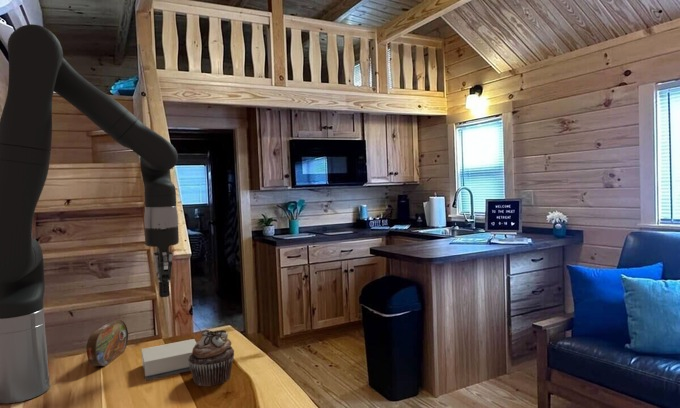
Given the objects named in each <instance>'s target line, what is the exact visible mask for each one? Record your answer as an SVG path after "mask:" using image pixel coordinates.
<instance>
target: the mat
mask: <svg viewBox="0 0 680 408" xmlns="http://www.w3.org/2000/svg"><path fill="white" fill-rule="evenodd" d="M142 370H144V367H143V366H142ZM187 372H191V369H190V367H189V368H185V369H180V370H175V371H171V372H166V373H162V374H157V375H152V376H148V377H147V376H145V372H144V371H143V374H144V378H145V379H144V380H145V381H150V380H155V379H159V378H160V379H161V378H164V377H168V376H173V375H178V374H182V373H187Z"/></svg>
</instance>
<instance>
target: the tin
mask: <svg viewBox="0 0 680 408" xmlns="http://www.w3.org/2000/svg"><path fill="white" fill-rule="evenodd" d="M128 341H129V332H128V326H127V324H126V323H125V321H123V320H114V321H113V320H112V321H109V322H107V323H105V325H103V326H101V327H100V328H98V329H97V330H95V331H94V332H92V333H91V334H90V335H89V337H88V339H87V342H86V345H85V346H86V355H87V356H86V357H87V361H88V363H89V364H90V366H92V367H106V366H108V365H109V364H110V363H112V362H113V361H114V360H116V359H117V358H118V357H120V356H121V355H122V354H123V353H124V352H125V350H126V349H127V345H128Z"/></svg>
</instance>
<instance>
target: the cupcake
mask: <svg viewBox="0 0 680 408" xmlns="http://www.w3.org/2000/svg"><path fill="white" fill-rule="evenodd" d="M228 336H229V334H228V333H227V331H226V330H225V329H224V330H223V329H222V330H214V331H213V330H209V329H207V330H206V331H204V332H203V333H202V335H201V338H200V340H198V341H196V345H195V346H194V348H193V351H192V352H193V353H192V354H191V356H189V359H188V363H189V366H190V369H191V371H190V373H191V376H192V380H193V384H195V385H197V386H199V387H211V386H212V387H214V386H218V385H220V384H223V383H225V382H227V381H228V380H230V377H231V373H232V367H233V362H234V357H235V350H234V349H233V348H234V347H232V341H231V340H230V339H229V338H228Z"/></svg>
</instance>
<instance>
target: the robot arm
mask: <svg viewBox="0 0 680 408" xmlns="http://www.w3.org/2000/svg"><path fill="white" fill-rule="evenodd" d="M63 51H64V50H63V47H62V45H61V42H60V40H59V39H58V38H57V36H56V35H55V34H54V32H52V31H51V30H50V29H48V28H46V27H44V26H43V25H38V24H25V25H21V26H20V27H17V28H16V29H15V30H13V32H12V33H11V34H10V36H9V38H8V40H7V54H8V87H7V94H6V97H5V98H6V99H5V103H4V105H3V110H2V113H1V117H0V404H15V402H16V403H20V402H25V401H27V400H30V399H34V398H37V397H38V396H40V395H43V394H44V393H46V392H47V391H48V390H49V389H50V375H49V360H48V359H49V358H48V347H47V337H46V336H47V334H46V324H45V323H46V322H45V309H44V295H45V289H46V288H45V287H46V286H45V284H46V283H45V268H44V267H45V264H44V253H43V250H42V247H41V245H40V243H39V242H38V241H37V240H36V238H34V237H33V221H34V216H35V215H34V214H35V210H36V207H37V206H38V205H37V204H38V202H39V200H40V197H41V195H42V192H43V189H44V187H45V184H46V181H47V178H48V173H49V168H50V161H51V151H52V141H53V140H52V139H53V137H52V135H53V112H52V111H53V109H52V108H53V98H54V97H53V96H54V93H56V94H57V95H58V96H60V97H62V98H63V99H64V100H65V101H67V102H68V103H69V104H71V105H72V106H73V107H75V109H77V110H78V111H79V112H81V114H83V115H84V116H85V117H86V118H87V119H89V120H90V121H91V122H93V123H94V124H95V125H96V126H97V127H98V128H99V129H101V130H102V131H103V132H104V133H105V134H107V135H108V136H109V137H111V139H112V140H114V141H115V142H116V143H118V144H119V145H121V146H123V147H124V148H127V149H130V150H131V151H132V152H134V153H135V154H137V155H138V156H139V165H140V171H141V177H142V182H143V187H144V219H143V221H144V237H145V239H144V241H145V242H144V243H145V246H147V247H151V248H152V247H153V248H156V249H155V250H156V251H155V252H153V253H152V254H153V260H154V270H155V272H156V274H155V275H156V277H157V281H158V295H159V297H160V298H169V297H170V281H171V280H172V268H173V267H172V265H173V262H172V260H173V252H171V251H170V247H171V246H176V245H178V244H179V242H180V239H179V235H180V234H179V215H178V210H177V209H178V208H177V192H176V190H177V189H176V186H175V185H174V183H173V182H172V177H171V170H172V169H173V168H174V167H175V166H176V165H177V164H178V161H179V155H178V154H179V153H178V151H177V149H176V147H174V145H173V144H172V143H171V142H170V141H169V140H167V139H166V138H165V137H163V136H162V135H161V134H159V133H157V132H156V131H154V130H153V129H152V128H149V126H146V125H145V124H144V123H143V122H142V121H141V119H139V118H137V116H135V115H134V114H133V112H131V111H130V110H128V109H127V108H126V107H125V106H124V105H122V104H121V103H120V102H119V101H117V100H116V99H114V98H113V97H112V96H110V95H109V94H107V93H106V92H104V91H103V90H100V88H97V87H96V86H95V85H94V84H92V83H91V82H89V81H88V80H87V79H86V78H85V77H83V76H82V75H81V74H80V73H79V72H78V71H76V70H75V69H74V67H72V65H71V64H70V63H69V62H68V61H67V60H66V59H65V58H64V52H63Z"/></svg>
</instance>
